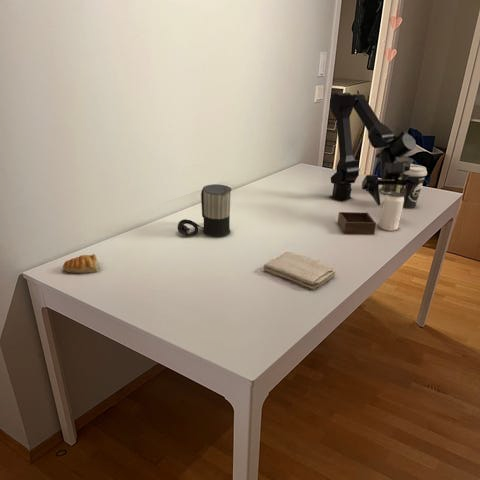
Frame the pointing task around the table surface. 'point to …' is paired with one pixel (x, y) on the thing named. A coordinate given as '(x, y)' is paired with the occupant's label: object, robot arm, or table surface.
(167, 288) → the table surface
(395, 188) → the coffee can
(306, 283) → the washcloth
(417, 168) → the coffee cup
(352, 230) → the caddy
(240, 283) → the table surface
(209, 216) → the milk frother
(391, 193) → the can
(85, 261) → the pastry
